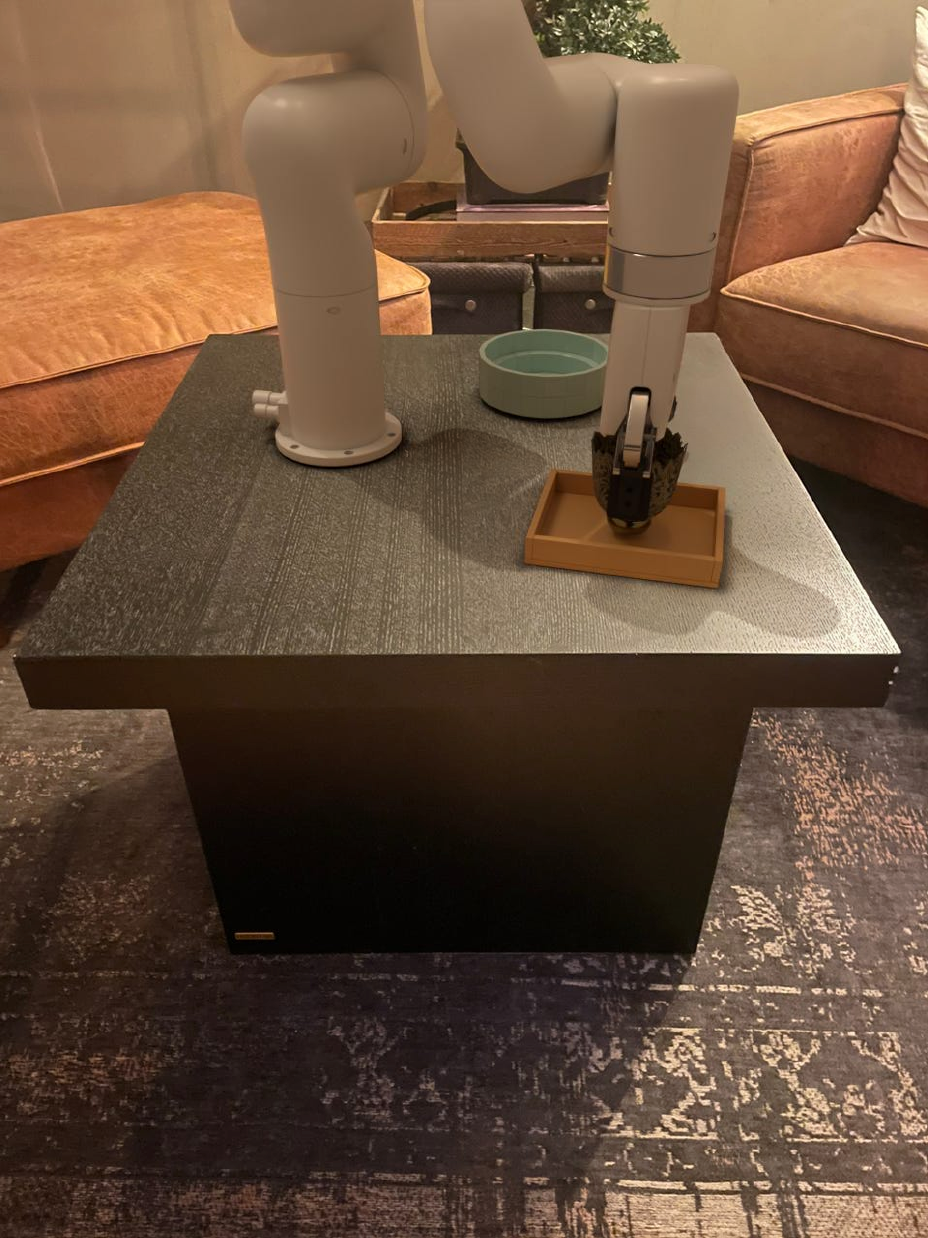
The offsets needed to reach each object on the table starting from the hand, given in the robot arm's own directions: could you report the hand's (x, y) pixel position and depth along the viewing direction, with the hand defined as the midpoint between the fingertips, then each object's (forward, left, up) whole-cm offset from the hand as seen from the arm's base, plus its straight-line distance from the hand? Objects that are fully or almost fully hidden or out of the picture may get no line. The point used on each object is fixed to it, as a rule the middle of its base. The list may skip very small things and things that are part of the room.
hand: (632, 492), depth 75 cm
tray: (0, 0, -4) cm, 4 cm away
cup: (0, 0, -3) cm, 3 cm away
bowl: (-12, +28, -4) cm, 31 cm away
